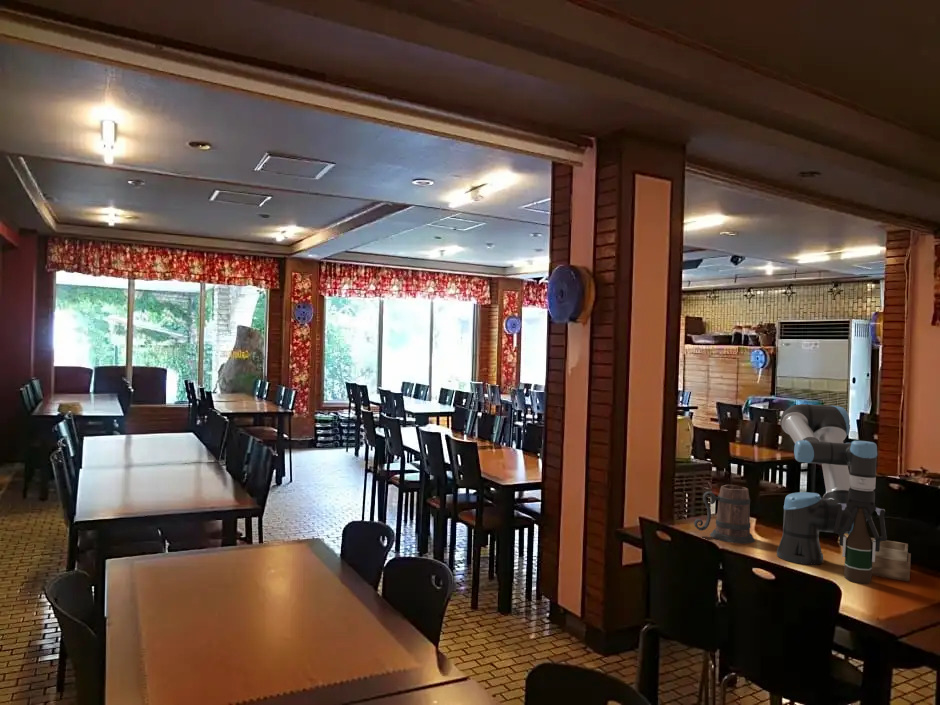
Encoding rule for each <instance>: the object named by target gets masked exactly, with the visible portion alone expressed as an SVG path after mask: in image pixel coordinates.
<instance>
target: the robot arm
mask: <svg viewBox="0 0 940 705" xmlns="http://www.w3.org/2000/svg"><path fill="white" fill-rule="evenodd" d="M779 422H780V427H781V429H782V431H784V433H786V434H787V435H789V436H790V438H791V440H792V441H793V443H794V448H793V455H794V459H795V461H797V462H798V463H805V464H819V465H820V464H821V468H822V473H823V475H822V476H823V479H824V480H823V481H824V486H825V493H824V494H823V496H822V495H820V494H819V493H817V492H808V491H807V492H803V491H800V492H792V493H789V494H787V495H786V496H785V499H784V503H783V504H784V505H783V524H782V525H783V526H782V536H781V538H780V542H779V545H778V546H777V548H776V556H777V557H778V558H780V559H782V560H784V561H787V562H791V563H795V564H801V565H821V564H823V562H824V554H823V551H822V547H821V543H820V539H819V538H820V537H819V536H820V532H824V533H834V534H837V535H838V536H839V538H838V539H839V540H838V544H839V546H842V555H841V556H842V557H843V558H845V550H846V539H847V537H848V536H847V535H849V534H850V533H851V532H852V530H853V526H854V518H855V517H856V515H857V511H858V508H859V507H860V508H863V511H864V516H865V518H867V524H868V525H869V527H870V530H871V533H872V535H873V538H875V540H873V551H872V562H875V551H877V552H879V550H880V542H881V541H886V540H887V538H888V536H887V530H886V523H885V513H886V510H885V509H884V508H879V507H877V506H876V504H875V502H876V501H875V500H876V491H875V489H876V484H877V483H876V482H877V481H876V479H877V463H878V462H877V461H878V446H877V443H876V442H873V441H866V440H853V441H851V442H845V443H844V441H845V439H846V438H847V436H848V435H849V434H850V430H851V424H850V422H851V421H850V416H849V413H848V411H847V409H845V408H844V407H842V406H838V405H836V406H835V405H831V404H830V405H822V404H821V405H820V404H808V403H807V404H806V403H800V404H795V405H791V406H790V407H788V408H787V409H786V410H785V411H784V412H783V413H782V414H781V415H780V420H779ZM874 512H876V513H877V516H878V517H879V524H880V533H881V536H880V535H879V532H878V530H877V528H876V526H875V523H874V521H873V520H874V519H873V517H872V515H873V514H874Z"/></svg>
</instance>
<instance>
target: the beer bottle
mask: <svg viewBox="0 0 940 705" xmlns="http://www.w3.org/2000/svg"><path fill="white" fill-rule="evenodd" d="M867 524H868V521H867V518H865V516H864V511H863V508H860V507H859V508H858V511H857V515H856V517H855V518H854V526H853V530H852V532H851V533H850V534H849V535H848V534H847V535H848V536H847V537H846V550H845V557H844V571H843V573H844V578H845V579H846V580H847V581H848V582H852V583H854V584H859V585H860V584H863V585H868V584H870V583H871V582H872V576H873V575H872V551H873V543H872V540H871V538H872V537H871V536H870V534H869V533H868V528H867V526H868V525H867Z"/></svg>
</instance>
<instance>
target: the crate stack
mask: <svg viewBox="0 0 940 705" xmlns="http://www.w3.org/2000/svg"><path fill="white" fill-rule="evenodd" d="M871 540H872V543H873V540H875V538H874V537H871ZM908 548H909V543H905V542H900V541H895V540H893V541H892V540H887V539H886V541H881V542H880V550H879V552H877V551H875V562H872V576H876V577H882V578H886V579H893V580H898V581H904V582H908V583H909V582H910V579H911V578H910V575H911V560H912V558H911V557H912V553H909V552H908V550H909V549H908Z"/></svg>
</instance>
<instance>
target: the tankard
mask: <svg viewBox="0 0 940 705" xmlns="http://www.w3.org/2000/svg"><path fill="white" fill-rule="evenodd" d="M749 492H750V491H749V488H747V487H745V486H739V485H736V484H735V485H734V484H725V485H721V486H720V489H719V494H718V495H717V496H716V495H715V493H713V492H711V491H705V492H704V493H703V495H702V500H703V501H702V502H703V503H704V505H705V507H706V511H707V512H706V514H707V516H706V521H705V522H703V520H702V519H700V518H695V520H694V522H693V524H694V527H695V528H696V529H697V530H698V531H705V530H707V529H708V527H709V526H710V522H711V520H712V512H711V507H710V505H709V503H710V504H711V505H714V504H715V503H716V501H717V500H718V503H717V513H716V518H715V528H713V530H712V532H710V534H709V536H710V537H712V538H713V539H715V540H718V541H721V542H726V543H732V544H752V543H755V542H756V539H755V538H754V537H753V534H752V533H751V522H750V521H751V520H750V519H751V518H750V515H751V512H750V511H751V510H750V506H751V497H750V493H749ZM708 495H711V496H710V502H709V503H708V501H707V497H708ZM699 522H700V523H699ZM703 524H704V525H703Z"/></svg>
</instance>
